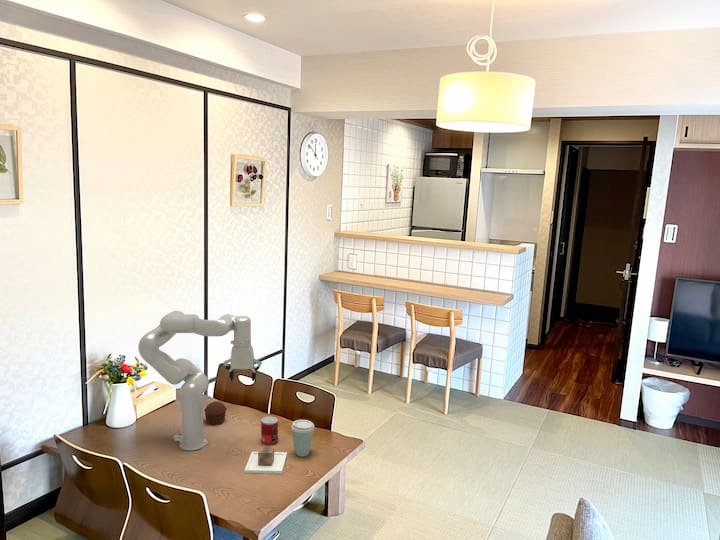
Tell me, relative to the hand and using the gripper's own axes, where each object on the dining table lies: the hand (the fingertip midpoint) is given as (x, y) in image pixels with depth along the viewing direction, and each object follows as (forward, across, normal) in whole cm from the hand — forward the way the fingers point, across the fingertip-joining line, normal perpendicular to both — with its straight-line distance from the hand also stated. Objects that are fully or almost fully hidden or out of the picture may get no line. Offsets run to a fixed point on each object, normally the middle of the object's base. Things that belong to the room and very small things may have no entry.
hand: (242, 379), depth 248 cm
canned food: (+34, +11, +7) cm, 36 cm away
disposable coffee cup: (+34, +28, -4) cm, 44 cm away
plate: (+33, +13, -14) cm, 38 cm away
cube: (+32, +13, -14) cm, 38 cm away
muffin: (+34, -20, +27) cm, 48 cm away
